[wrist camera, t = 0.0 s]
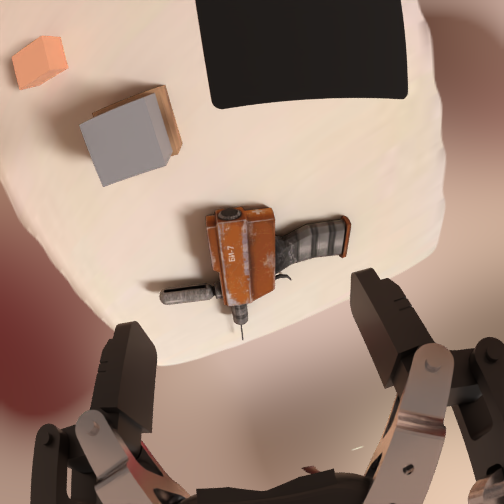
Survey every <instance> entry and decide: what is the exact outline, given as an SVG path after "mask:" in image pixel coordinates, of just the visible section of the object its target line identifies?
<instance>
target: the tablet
mask: <svg viewBox="0 0 504 504" xmlns="http://www.w3.org/2000/svg"><path fill="white" fill-rule="evenodd" d="M196 6H197V12H198V19H199V25H200V31H201V37H202V44H203V50H204V56H205V62H206V68H207V74H208V80H209V86H210V92H211V98H212V103H213V105H214V106H215V107H216V108H219V109H226V108H233V107H239V106H246V105H254V104H262V103H271V102H281V101H292V100H306V99H325V98H389V99H404V98H406V96H407V94H408V74H407V54H406V41H405V31H404V22H403V14H402V6H401V0H196Z"/></svg>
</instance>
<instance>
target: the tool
mask: <svg viewBox="0 0 504 504" xmlns="http://www.w3.org/2000/svg"><path fill="white" fill-rule="evenodd" d="M206 229H207V236H208V243H209V249H210V256H211V262H212V268H213V270H214V271H217V272H219V277H220V282H215V283H214V286H211V285H210V284H207V283H206V284H198V285H191V286H183V287H175V288H167V289H163V290H162V291H161V292H160V300H161V302H162V303H163V304H165V305H170V304H179V303H187V302H195V301H203V300H210V299H211V298H212V297H213V296H215V295H216V298H217V299H221V298H223V303H224V305H227V306H232V313H233V320H234V322H235V323H236V324H239V325H241V332H242V324H245V323H246V322H247V321H248V311H247V304H248V303H252V302H253V301H254V300H256V299H258V298H260V297H262V296H264V295H265V294H267V293H269V292H271V291H273V290H274V289H275V280H276V279H279V278H289V279H290V280H291V278H290V277H289V276H288V275H284V274H279V275H276V276H275V274H277V273H278V272H280V271H282V270H283V269H285V268H286V267H288V266H289V265H291V264H294V263H297V262H301V261H304V260H308V259H311V258H315V257H324V256H333V255H339V256H340V257H341V258H344V257H346V254H347V249H348V243H349V236H350V230H351V222H350V220H349V219H348V218H347V217H346V216H342V217H341V220H334V221H327V222H320V223H314V224H307V225H304V226H302V227H300V228H299V229H297V230H295V231H293V232H291V233H289V234H287V235H285V236H284V237H278V236H275V217H274V213H273V210H272V208H264V209H256V210H247V211H244V209H243V208H242V207H237V208H227V209H218V210H216V211H215V215H210V216H206ZM242 340H243V332H242Z"/></svg>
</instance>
